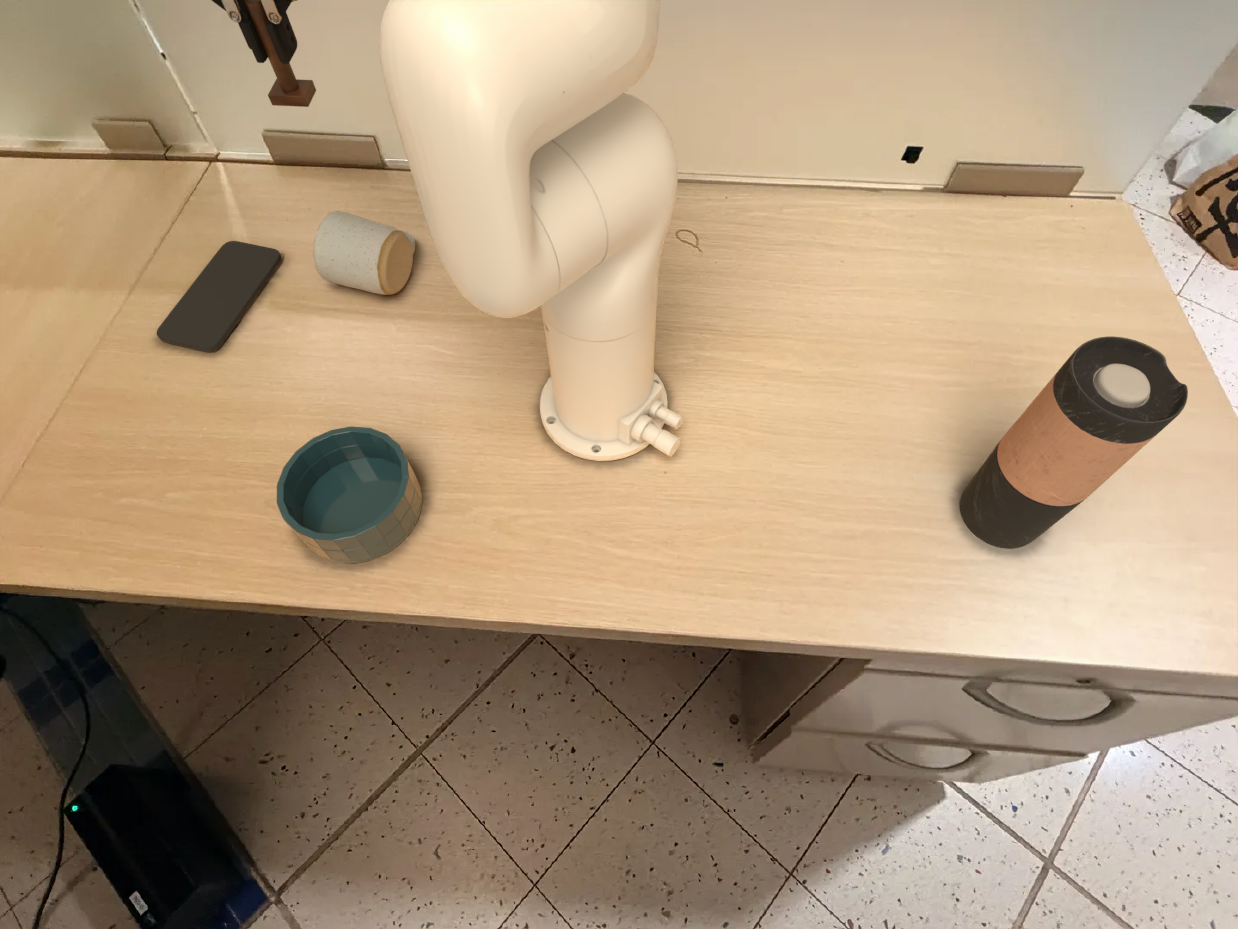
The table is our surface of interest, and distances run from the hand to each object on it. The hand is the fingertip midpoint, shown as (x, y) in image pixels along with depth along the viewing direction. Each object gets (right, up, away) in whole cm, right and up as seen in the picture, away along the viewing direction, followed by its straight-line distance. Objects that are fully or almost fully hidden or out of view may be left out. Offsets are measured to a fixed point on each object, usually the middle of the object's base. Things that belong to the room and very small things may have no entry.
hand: (277, 54), depth 75 cm
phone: (-9, -24, +6) cm, 26 cm away
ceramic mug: (+8, -20, +8) cm, 23 cm away
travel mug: (+70, -47, -9) cm, 84 cm away
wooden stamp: (0, -2, +4) cm, 5 cm away
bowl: (+11, -46, -8) cm, 48 cm away
